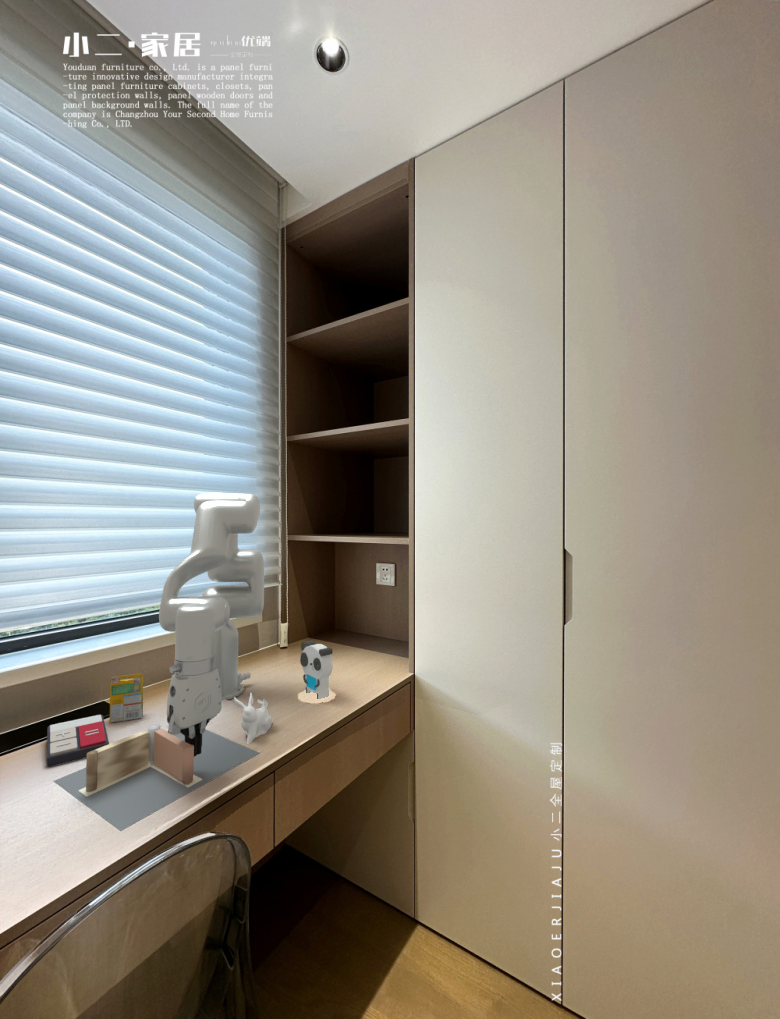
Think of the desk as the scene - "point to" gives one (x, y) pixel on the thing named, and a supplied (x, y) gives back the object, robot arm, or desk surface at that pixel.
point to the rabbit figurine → (254, 718)
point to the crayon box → (126, 698)
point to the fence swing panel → (171, 754)
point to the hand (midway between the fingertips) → (193, 753)
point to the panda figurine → (316, 667)
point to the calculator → (75, 739)
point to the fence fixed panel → (116, 760)
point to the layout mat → (155, 782)
